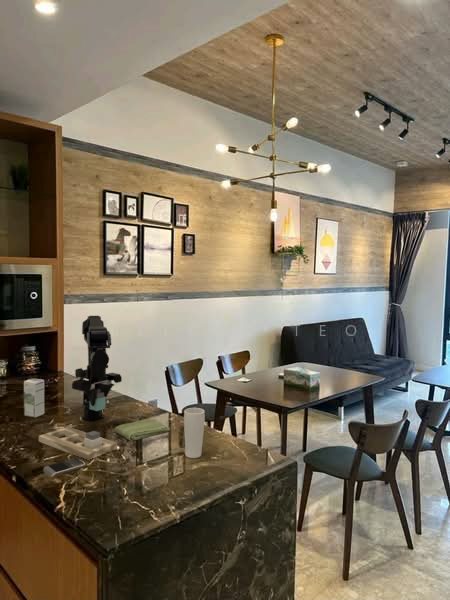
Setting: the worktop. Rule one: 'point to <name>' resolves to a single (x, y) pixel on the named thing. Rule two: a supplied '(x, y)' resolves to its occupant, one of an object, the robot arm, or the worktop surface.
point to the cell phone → (63, 467)
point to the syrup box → (33, 397)
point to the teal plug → (99, 402)
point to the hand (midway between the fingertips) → (97, 404)
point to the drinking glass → (193, 431)
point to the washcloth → (141, 429)
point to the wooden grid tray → (75, 449)
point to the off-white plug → (92, 440)
